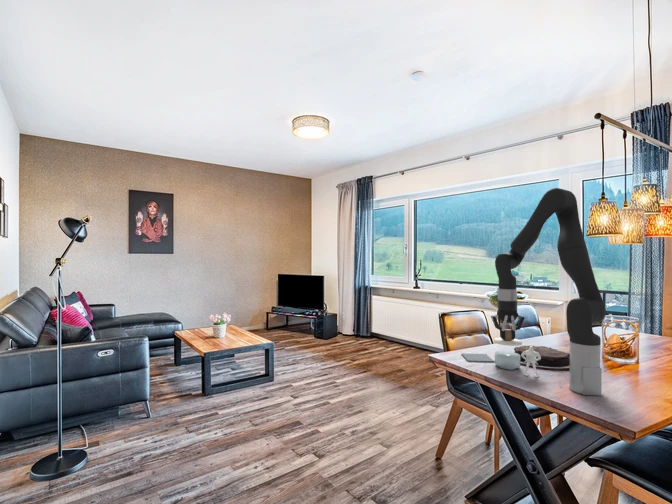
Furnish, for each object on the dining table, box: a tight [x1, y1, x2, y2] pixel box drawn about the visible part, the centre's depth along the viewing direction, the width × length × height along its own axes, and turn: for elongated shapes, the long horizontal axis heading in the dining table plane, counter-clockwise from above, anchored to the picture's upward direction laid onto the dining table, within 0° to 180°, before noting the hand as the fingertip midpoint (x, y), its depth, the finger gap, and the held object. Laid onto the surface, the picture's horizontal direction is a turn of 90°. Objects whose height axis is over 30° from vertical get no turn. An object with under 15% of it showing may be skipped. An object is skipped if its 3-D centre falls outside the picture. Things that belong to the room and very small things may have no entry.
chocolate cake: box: [513, 345, 570, 371], centre depth 170 cm, size 28×28×7 cm
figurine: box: [521, 345, 541, 378], centre depth 149 cm, size 7×4×12 cm, turn 59°
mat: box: [461, 352, 495, 363], centre depth 173 cm, size 12×12×1 cm
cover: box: [493, 328, 523, 347], centre depth 160 cm, size 11×11×6 cm
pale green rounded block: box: [494, 350, 521, 370], centre depth 160 cm, size 10×10×6 cm
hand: (507, 339), depth 160 cm, fingers closed on cover, 3 cm apart
